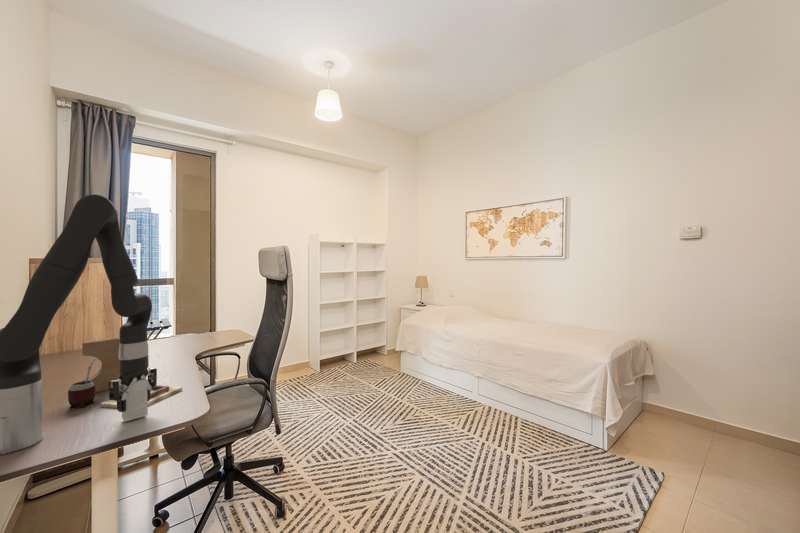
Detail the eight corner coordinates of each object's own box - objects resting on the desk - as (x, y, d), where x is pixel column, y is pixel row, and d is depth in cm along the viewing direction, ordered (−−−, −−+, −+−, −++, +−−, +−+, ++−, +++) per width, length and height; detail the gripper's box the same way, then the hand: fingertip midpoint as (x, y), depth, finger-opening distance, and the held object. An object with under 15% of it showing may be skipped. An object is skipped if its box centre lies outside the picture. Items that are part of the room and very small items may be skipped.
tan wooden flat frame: (137, 410, 113) (137, 402, 113) (100, 406, 116) (100, 398, 116) (182, 390, 131) (182, 383, 131) (149, 387, 134) (148, 380, 134)
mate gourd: (68, 411, 112) (67, 368, 112) (68, 405, 118) (67, 363, 118) (98, 404, 118) (97, 363, 117) (96, 398, 123) (95, 358, 123)
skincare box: (144, 411, 110) (144, 376, 110) (147, 415, 107) (147, 378, 107) (120, 418, 106) (120, 381, 106) (123, 422, 103) (123, 384, 103)
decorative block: (83, 395, 126) (82, 343, 126) (83, 391, 130) (82, 341, 130) (121, 387, 134) (120, 338, 134) (119, 383, 138) (118, 336, 138)
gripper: (145, 349, 114) (146, 396, 114) (100, 361, 100) (100, 415, 100) (163, 350, 113) (164, 398, 113) (119, 362, 99) (120, 417, 99)
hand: (134, 406), depth 107 cm, fingers closed on skincare box, 7 cm apart
